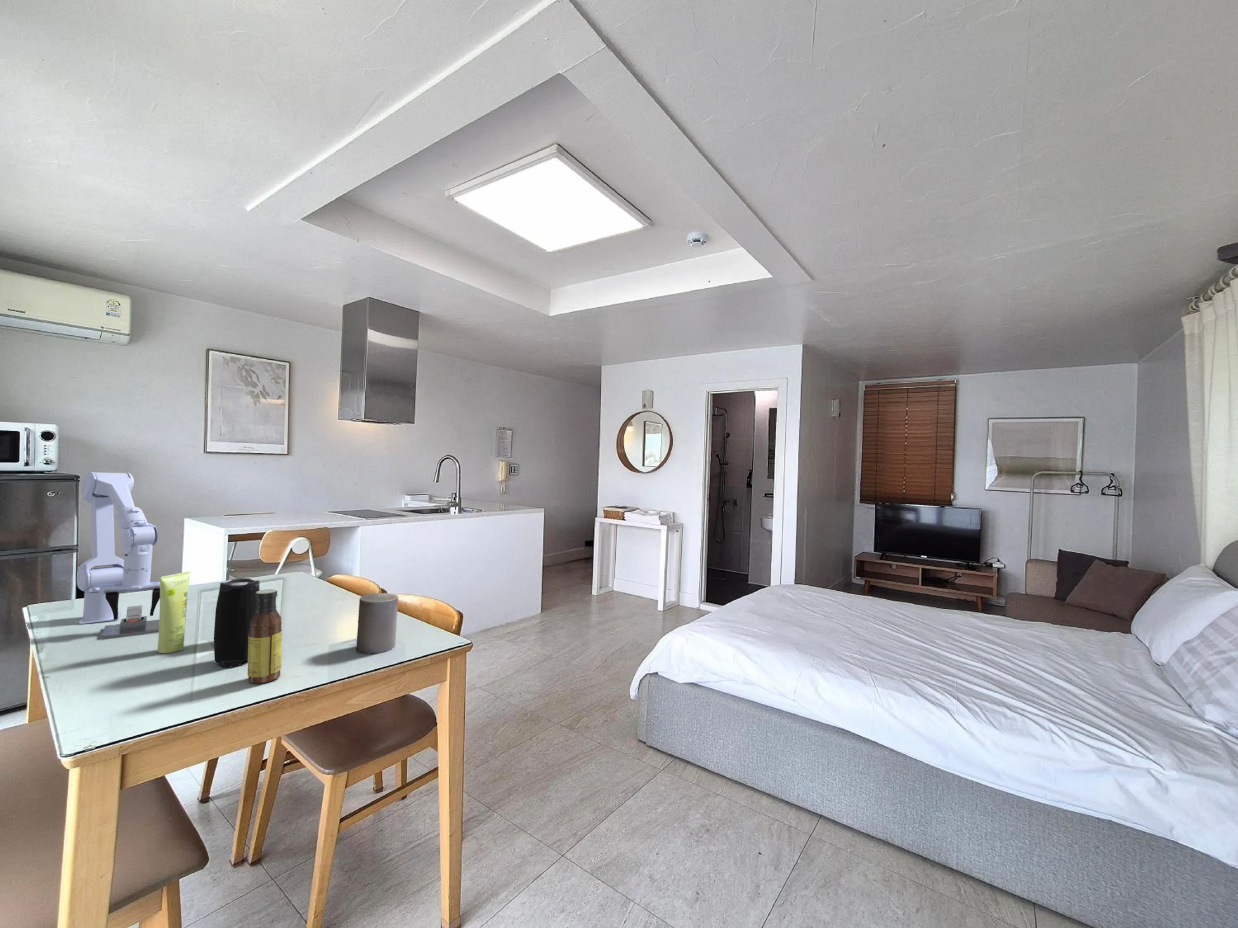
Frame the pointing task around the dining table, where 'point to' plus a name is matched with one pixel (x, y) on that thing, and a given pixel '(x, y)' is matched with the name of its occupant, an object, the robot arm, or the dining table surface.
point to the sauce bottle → (265, 639)
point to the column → (134, 613)
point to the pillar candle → (377, 623)
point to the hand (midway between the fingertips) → (134, 616)
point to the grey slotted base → (130, 628)
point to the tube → (172, 611)
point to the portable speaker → (234, 620)
